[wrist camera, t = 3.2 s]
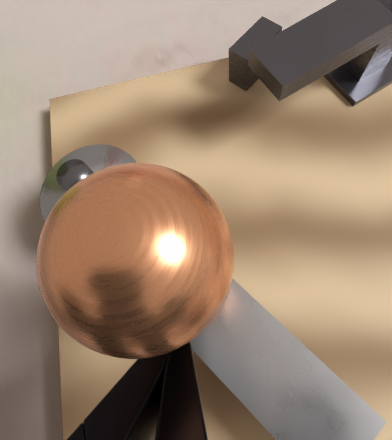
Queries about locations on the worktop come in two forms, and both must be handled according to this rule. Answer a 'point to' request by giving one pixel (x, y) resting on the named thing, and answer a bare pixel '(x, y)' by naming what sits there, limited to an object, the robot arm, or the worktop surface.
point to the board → (260, 219)
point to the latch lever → (178, 293)
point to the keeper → (319, 51)
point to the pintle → (72, 173)
